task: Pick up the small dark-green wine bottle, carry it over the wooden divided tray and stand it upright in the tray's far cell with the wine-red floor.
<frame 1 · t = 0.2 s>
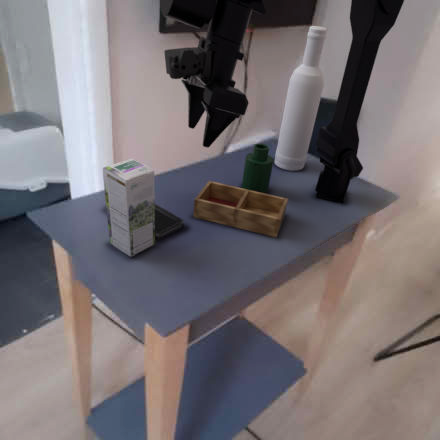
hand: (198, 136, 70), 15 cm above the table, tool pointing down, fingers open, 9 cm apart
bottle: (288, 165, 102), on the table
syrup box: (133, 246, 70), on the table
wine bottle: (254, 189, 90), on the table
wooden divided tray: (240, 216, 80), on the table
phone: (144, 218, 77), on the table
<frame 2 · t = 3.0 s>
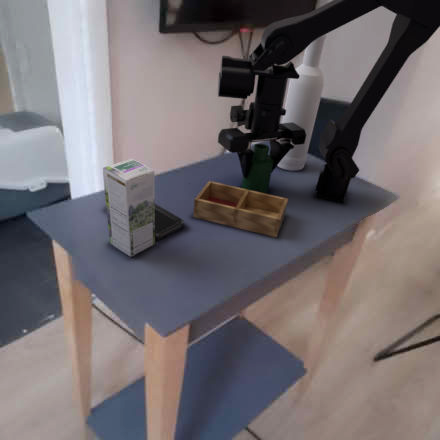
hand: (257, 175, 88), 4 cm above the table, tool pointing down, fingers closed on wine bottle, 6 cm apart
wine bottle: (254, 189, 90), on the table, touching gripper
everything else where it was.
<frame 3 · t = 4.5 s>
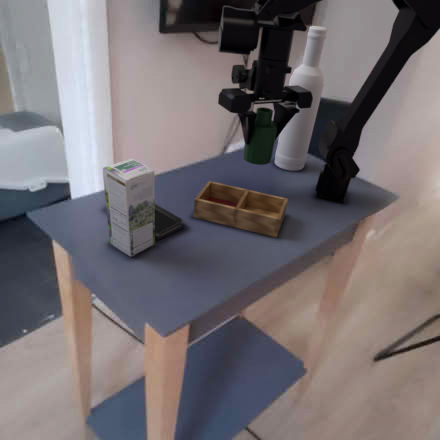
hand: (259, 142, 82), 11 cm above the table, tool pointing down, fingers closed on wine bottle, 6 cm apart
wine bottle: (257, 158, 84), point 8 cm above the table, touching gripper
everything else where it was.
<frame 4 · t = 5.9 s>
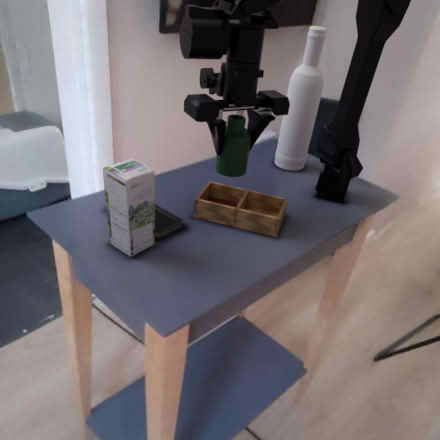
hand: (232, 152, 75), 12 cm above the table, tool pointing down, fingers closed on wine bottle, 6 cm apart
wine bottle: (230, 170, 77), point 8 cm above the table, touching gripper
everything else where it was.
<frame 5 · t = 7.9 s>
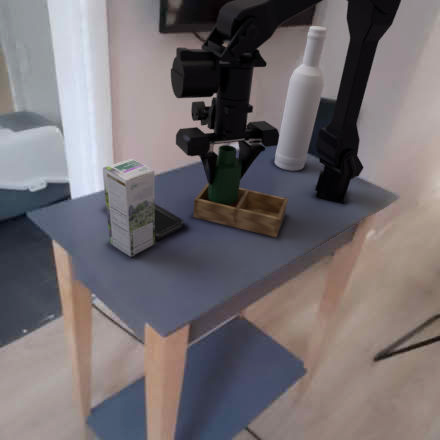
hand: (224, 181, 77), 7 cm above the table, tool pointing down, fingers closed on wine bottle, 6 cm apart
wine bottle: (222, 197, 79), point 3 cm above the table, touching gripper
everything else where it was.
when the fingers open (4 cm above the table, at t = 9.3 s): wine bottle stays where it is, resting on wooden divided tray.
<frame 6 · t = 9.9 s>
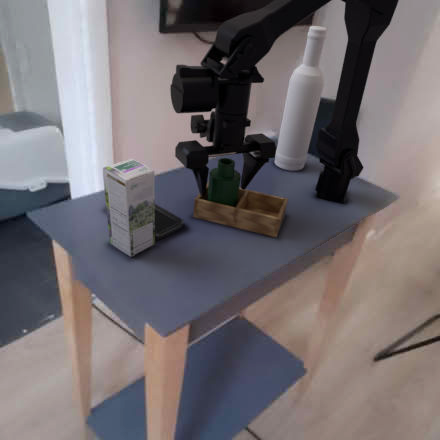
hand: (222, 192, 78), 4 cm above the table, tool pointing down, fingers open, 9 cm apart
wine bottle: (221, 208, 81), point 1 cm above the table, touching wooden divided tray
everything else where it was.
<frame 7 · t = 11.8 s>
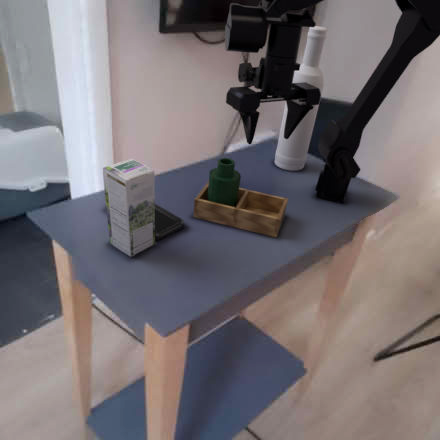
hand: (267, 141, 81), 12 cm above the table, tool pointing down, fingers open, 9 cm apart
nothing on the table moved.
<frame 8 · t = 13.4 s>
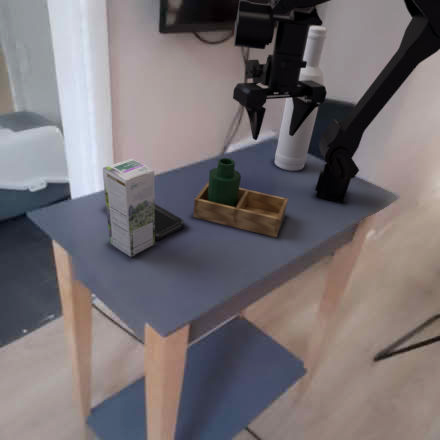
hand: (273, 137, 82), 12 cm above the table, tool pointing down, fingers open, 9 cm apart
nothing on the table moved.
at the end: wine bottle 0.1 cm from the target spot in the wooden divided tray, point 0.8 cm above the wooden divided tray's base; wine bottle tilted 0°; the gripper is holding nothing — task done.
